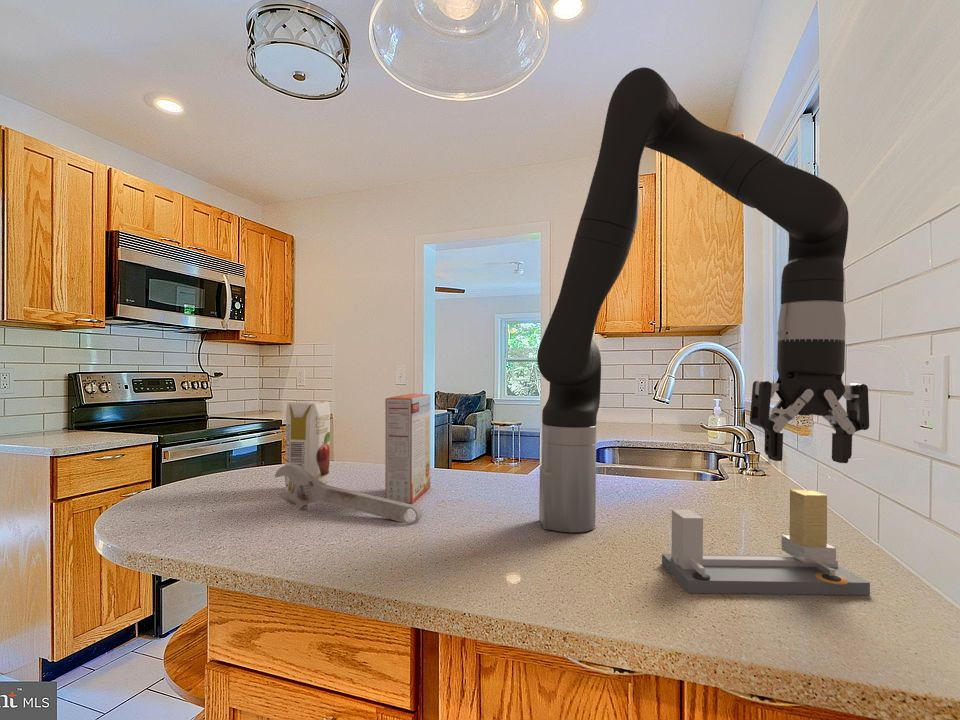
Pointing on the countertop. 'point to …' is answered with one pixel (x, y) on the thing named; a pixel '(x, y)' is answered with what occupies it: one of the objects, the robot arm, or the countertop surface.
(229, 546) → the countertop surface
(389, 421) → the cracker box
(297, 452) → the juice carton
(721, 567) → the bolt plate
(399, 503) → the wrench
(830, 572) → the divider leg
